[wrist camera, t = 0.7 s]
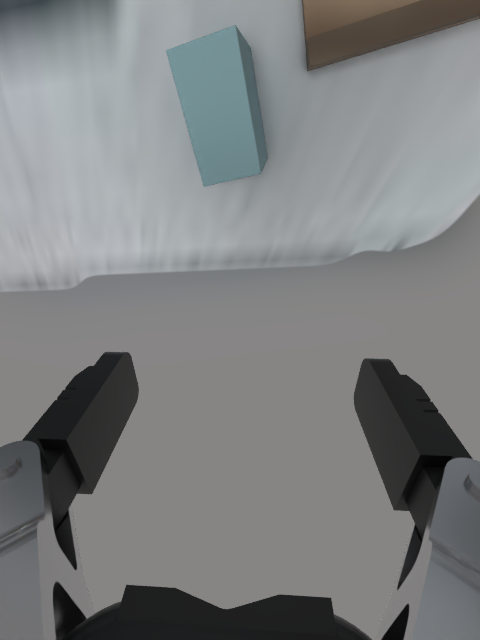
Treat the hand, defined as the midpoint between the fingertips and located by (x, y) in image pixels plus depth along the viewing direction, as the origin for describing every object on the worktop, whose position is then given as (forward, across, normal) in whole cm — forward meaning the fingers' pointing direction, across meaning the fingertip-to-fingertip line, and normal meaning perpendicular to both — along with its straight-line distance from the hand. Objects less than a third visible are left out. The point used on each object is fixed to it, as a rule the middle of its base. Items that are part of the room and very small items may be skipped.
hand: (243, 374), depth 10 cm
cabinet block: (+24, +2, -10) cm, 26 cm away
